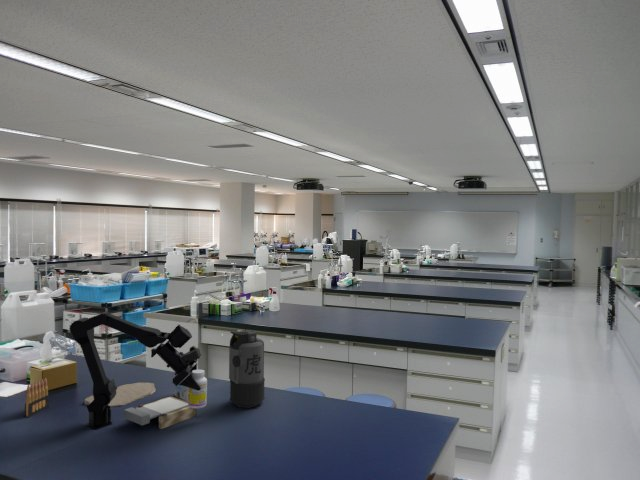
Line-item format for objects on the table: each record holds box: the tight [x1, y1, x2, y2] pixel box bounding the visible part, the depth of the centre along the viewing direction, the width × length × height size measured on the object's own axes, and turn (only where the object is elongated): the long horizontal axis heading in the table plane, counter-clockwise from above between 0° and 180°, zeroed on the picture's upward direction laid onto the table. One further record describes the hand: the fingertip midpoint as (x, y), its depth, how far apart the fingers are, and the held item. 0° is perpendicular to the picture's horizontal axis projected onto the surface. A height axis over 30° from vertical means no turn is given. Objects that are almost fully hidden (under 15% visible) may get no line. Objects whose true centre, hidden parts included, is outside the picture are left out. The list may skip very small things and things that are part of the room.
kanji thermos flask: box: [228, 329, 265, 409], centre depth 197 cm, size 14×14×30 cm
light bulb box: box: [174, 384, 188, 402], centre depth 204 cm, size 11×7×11 cm, turn 47°
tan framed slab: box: [134, 395, 198, 430], centre depth 182 cm, size 16×16×5 cm
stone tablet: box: [83, 382, 157, 408], centre depth 203 cm, size 16×30×2 cm, turn 150°
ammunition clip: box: [24, 377, 50, 418], centre depth 185 cm, size 11×2×12 cm, turn 171°
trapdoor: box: [123, 396, 188, 426], centre depth 179 cm, size 20×12×3 cm, turn 144°
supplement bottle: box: [188, 368, 208, 409], centre depth 177 cm, size 7×7×13 cm
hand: (201, 386), depth 177 cm, fingers closed on supplement bottle, 7 cm apart
